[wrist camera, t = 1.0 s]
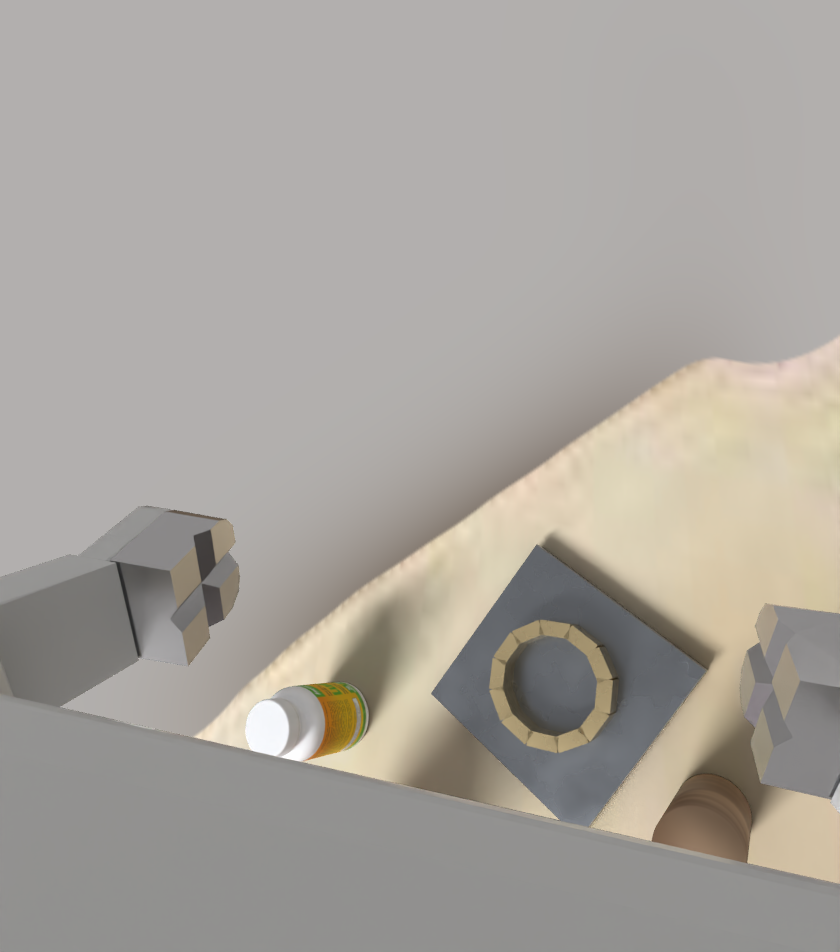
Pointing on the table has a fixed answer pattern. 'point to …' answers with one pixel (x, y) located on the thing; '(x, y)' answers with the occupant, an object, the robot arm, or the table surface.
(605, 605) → the holder
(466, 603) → the table surface
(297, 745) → the supplement bottle
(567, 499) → the table surface
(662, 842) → the peg
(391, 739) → the table surface
